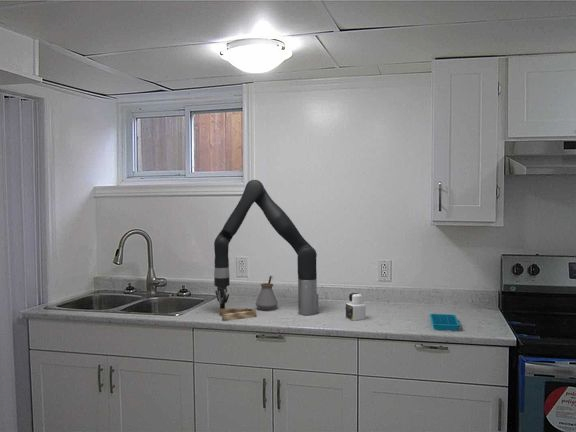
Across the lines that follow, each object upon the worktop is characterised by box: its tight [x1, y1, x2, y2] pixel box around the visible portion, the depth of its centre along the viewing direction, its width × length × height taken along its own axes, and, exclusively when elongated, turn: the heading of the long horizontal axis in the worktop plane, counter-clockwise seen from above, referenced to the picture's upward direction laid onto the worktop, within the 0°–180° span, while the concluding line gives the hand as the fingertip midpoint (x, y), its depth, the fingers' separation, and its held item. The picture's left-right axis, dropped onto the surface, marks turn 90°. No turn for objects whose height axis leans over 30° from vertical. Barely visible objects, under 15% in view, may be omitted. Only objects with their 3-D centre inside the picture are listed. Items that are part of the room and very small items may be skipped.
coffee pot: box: [255, 275, 279, 312], centre depth 275 cm, size 21×12×15 cm, turn 173°
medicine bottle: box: [345, 292, 367, 322], centre depth 249 cm, size 7×7×12 cm
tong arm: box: [219, 307, 253, 316], centre depth 257 cm, size 17×2×3 cm, turn 89°
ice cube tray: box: [429, 313, 461, 332], centre depth 236 cm, size 12×20×3 cm, turn 168°
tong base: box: [221, 308, 257, 322], centre depth 251 cm, size 18×3×3 cm, turn 119°
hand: (222, 310), depth 261 cm, fingers closed
